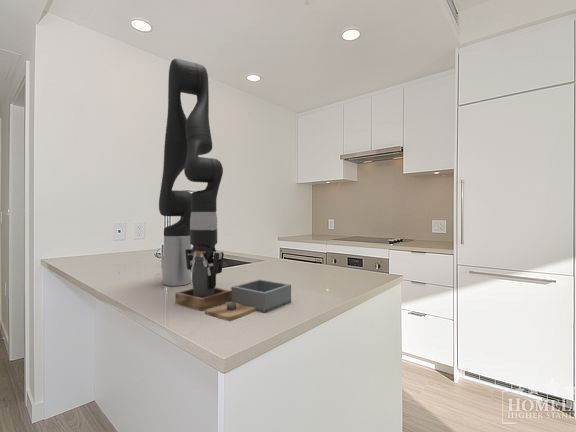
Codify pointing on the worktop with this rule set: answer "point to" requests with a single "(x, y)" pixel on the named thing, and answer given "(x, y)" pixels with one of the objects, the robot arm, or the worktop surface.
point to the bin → (262, 294)
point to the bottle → (201, 277)
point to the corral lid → (230, 311)
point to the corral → (202, 299)
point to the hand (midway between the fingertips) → (203, 286)
